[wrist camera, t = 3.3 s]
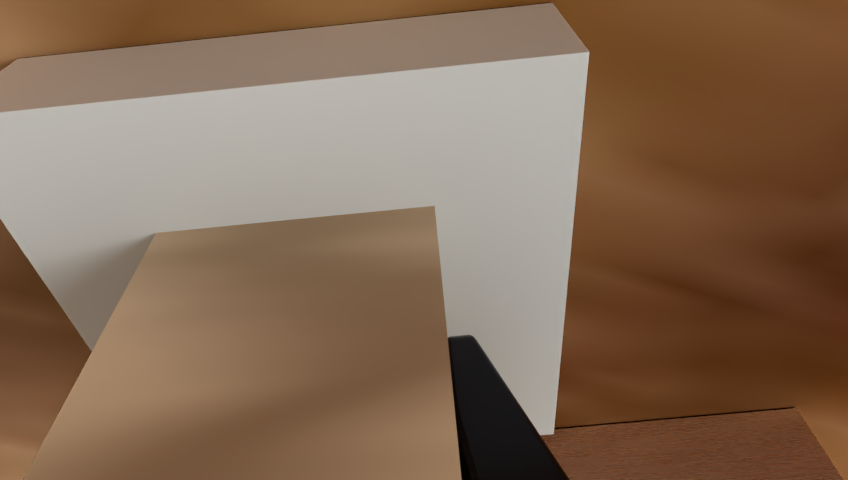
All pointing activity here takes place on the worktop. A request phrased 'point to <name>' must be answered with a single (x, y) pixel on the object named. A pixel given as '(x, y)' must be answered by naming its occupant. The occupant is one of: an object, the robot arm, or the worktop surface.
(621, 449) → the plate
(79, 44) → the worktop surface
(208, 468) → the peg
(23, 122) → the soap bar
